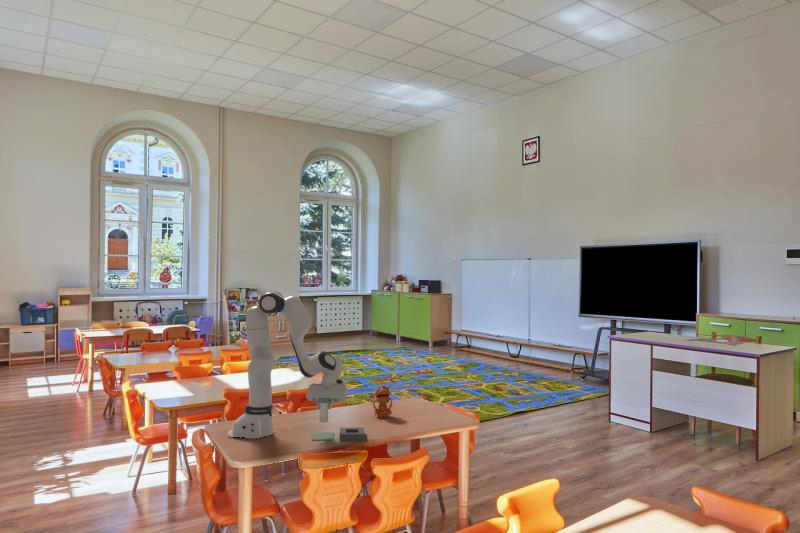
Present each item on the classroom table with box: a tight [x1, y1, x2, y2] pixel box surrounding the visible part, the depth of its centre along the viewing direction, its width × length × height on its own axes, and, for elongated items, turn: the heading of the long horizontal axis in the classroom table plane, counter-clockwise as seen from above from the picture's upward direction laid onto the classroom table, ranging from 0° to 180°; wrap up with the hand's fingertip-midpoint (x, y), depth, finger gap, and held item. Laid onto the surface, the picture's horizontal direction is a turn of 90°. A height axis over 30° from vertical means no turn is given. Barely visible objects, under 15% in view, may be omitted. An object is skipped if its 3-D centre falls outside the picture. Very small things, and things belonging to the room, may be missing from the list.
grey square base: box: [338, 426, 366, 442], centre depth 267 cm, size 12×12×4 cm
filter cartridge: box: [319, 398, 329, 423], centre depth 267 cm, size 4×4×11 cm
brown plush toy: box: [372, 385, 393, 418], centre depth 311 cm, size 11×11×18 cm
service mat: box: [311, 431, 335, 442], centre depth 266 cm, size 10×12×2 cm
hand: (323, 408), depth 266 cm, fingers closed on filter cartridge, 4 cm apart
